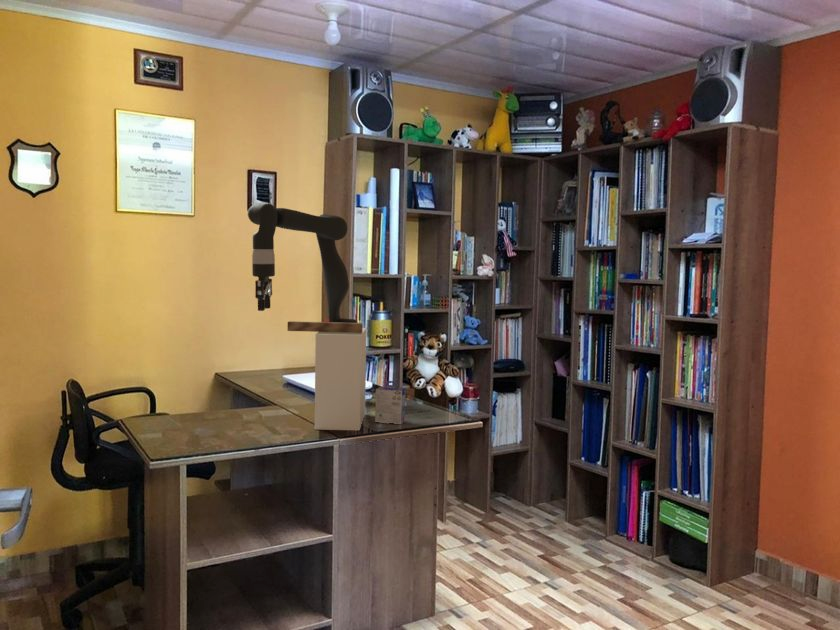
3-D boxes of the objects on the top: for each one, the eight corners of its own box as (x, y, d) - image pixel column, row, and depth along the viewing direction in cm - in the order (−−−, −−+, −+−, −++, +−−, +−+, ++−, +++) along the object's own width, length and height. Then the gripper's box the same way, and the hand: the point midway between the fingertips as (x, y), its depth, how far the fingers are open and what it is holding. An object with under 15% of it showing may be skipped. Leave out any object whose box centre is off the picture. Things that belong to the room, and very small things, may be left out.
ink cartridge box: (405, 421, 248) (406, 381, 246) (402, 425, 242) (402, 383, 241) (378, 419, 250) (379, 379, 248) (374, 423, 244) (375, 382, 243)
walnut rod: (287, 330, 235) (287, 322, 235) (289, 330, 238) (289, 321, 238) (361, 332, 235) (361, 323, 235) (362, 331, 238) (362, 323, 238)
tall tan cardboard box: (314, 429, 233) (315, 333, 230) (324, 413, 257) (325, 326, 254) (359, 430, 233) (361, 334, 231) (364, 414, 257) (366, 327, 254)
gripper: (269, 263, 232) (270, 311, 234) (278, 262, 246) (279, 307, 248) (247, 263, 232) (248, 311, 234) (257, 261, 247) (258, 307, 248)
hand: (264, 309), depth 241 cm, fingers open, 8 cm apart
